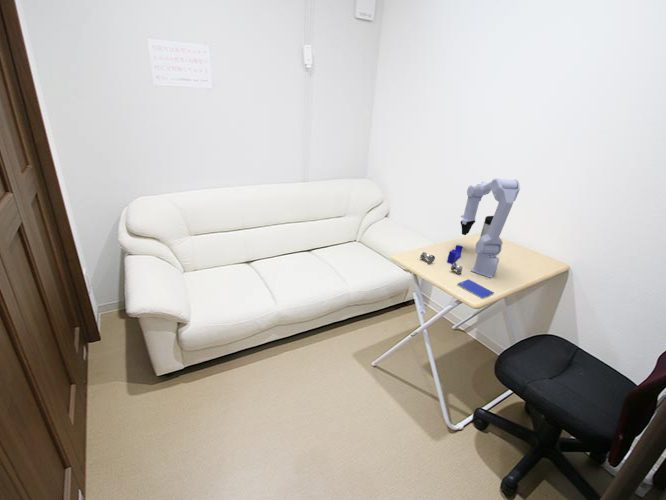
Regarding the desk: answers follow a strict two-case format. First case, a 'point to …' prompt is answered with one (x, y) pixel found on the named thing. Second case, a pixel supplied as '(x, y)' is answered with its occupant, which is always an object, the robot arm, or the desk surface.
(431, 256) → the shaft
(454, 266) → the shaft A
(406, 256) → the desk surface
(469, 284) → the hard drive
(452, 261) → the cable clip
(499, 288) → the desk surface
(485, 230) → the travel mug
